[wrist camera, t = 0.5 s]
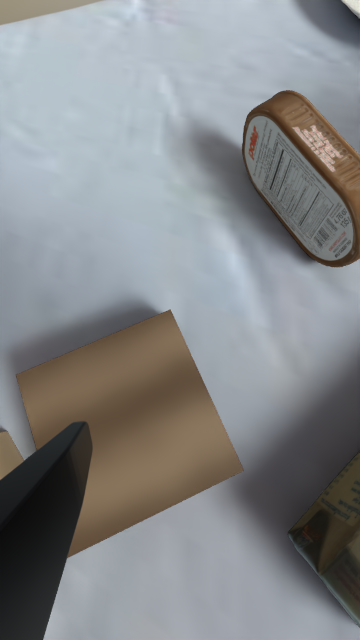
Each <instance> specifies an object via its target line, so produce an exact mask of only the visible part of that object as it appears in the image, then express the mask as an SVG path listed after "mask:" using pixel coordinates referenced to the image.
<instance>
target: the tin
mask: <svg viewBox="0 0 360 640" xmlns="http://www.w3.org/2000/svg"><path fill="white" fill-rule="evenodd" d="M242 154H243V159H244V163H245V166H246V170H247V172H248V175H249V177H250V179H251V181H252V183H253V185H254V187H255V188H256V190H257V191H258V193H259V194H260V195H261V196H262V198H263V199H264V200H265V202H266V203H267V204H268V205H269V207H270V208H271V209H272V211H273V212H274V213H275V215H276V216H277V217H278V218H279V220H280V221H281V222H282V223H283V225H284V226H285V227H286V229H287V230H288V231H289V232H290V234H291V235H292V236H293V237H294V239H295V240H296V241H297V243H298V244H299V245H300V246H301V248H302V249H303V250H304V251H305V252H306V253H307V254H308V255H309V256H310V257H312V258H313V259H314V260H316V261H317V262H319V263H321V264H323V265H326V266H330V267H343V266H346V265H349V264H351V263H353V262H355V261H357V260H359V259H360V155H359V154H358V153H357V152H356V151H355V150H354V149H353V148H352V147H351V146H350V145H349V144H348V142H347V141H346V140H345V139H344V138H343V137H342V136H341V135H340V134H339V133H338V132H337V131H336V130H335V128H334V127H333V126H332V125H331V124H330V123H329V122H328V121H327V120H326V119H325V118H324V116H323V115H322V114H321V113H320V112H319V111H318V110H317V109H316V108H315V107H314V106H313V105H312V103H311V102H310V101H309V100H308V99H307V98H305V97H304V96H303V95H301V94H299V93H297V92H294V91H290V90H286V91H281V92H279V93H277V94H276V95H274V96H273V97H272V98H271V99H269V100H267V101H265V102H264V103H262V104H260V105H258V106H257V107H255V108H254V109H253V110H252V111H251V112H250V113H249V114H248V116H247V118H246V122H245V126H244V132H243V143H242Z"/></svg>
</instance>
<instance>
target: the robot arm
mask: <svg viewBox="0 0 360 640" xmlns="http://www.w3.org/2000/svg"><path fill="white" fill-rule="evenodd" d="M92 451H93V444H92V439H91V434H90V429H89V425H88V423H87V422H86V421H79V422H72V423H71V424H70V425H68V426H67V427H66V428H65V429H63V430H62V431H61V432H60V433H58V434H57V435H56V436H55V437H53V438H52V439H51V440H50V441H48V442H47V443H46V444H45V445H43V446H42V447H41V448H40V449H38V450H37V451H36V452H35V453H33V454H32V455H31V456H30V457H28V458H27V459H26V460H25V461H23V462H22V463H21V464H20V465H18V466H17V467H16V468H15V469H13V470H12V471H11V472H10V473H8V474H7V475H6V476H4V477H3V478H2V479H1V480H0V640H43V638H44V635H45V631H46V628H47V625H48V621H49V618H50V614H51V611H52V608H53V604H54V601H55V597H56V594H57V591H58V587H59V584H60V580H61V577H62V574H63V570H64V567H65V563H66V560H67V557H68V553H69V550H70V546H71V543H72V540H73V536H74V533H75V529H76V526H77V523H78V519H79V516H80V512H81V509H82V505H83V500H84V495H85V490H86V485H87V479H88V474H89V468H90V463H91V457H92Z"/></svg>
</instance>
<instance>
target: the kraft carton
mask: <svg viewBox="0 0 360 640" xmlns="http://www.w3.org/2000/svg"><path fill="white" fill-rule="evenodd" d="M23 461H24V460H23V458H22V456H21V454H20V453H19V451H18V449H17V447H16V445H15V444H14V442H13V440H12V438H11V437H10V435H9V433H8V431H6V432H0V480H1V479H2V478H3V477H4V476H6V475H7V474H8V473H10V472H11V471H12V470H13V469H15V468H16V467H17V466H18V465H20V464H21V463H22V462H23Z"/></svg>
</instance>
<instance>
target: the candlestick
mask: <svg viewBox="0 0 360 640" xmlns="http://www.w3.org/2000/svg"><path fill="white" fill-rule="evenodd" d="M341 1H342V2H343V3H345V4H346V5H347V6H348V8H349V9H350V10H351V11H352V12H353V13H354V14H355V15H356V16H358V17H359V18H360V0H341Z"/></svg>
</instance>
